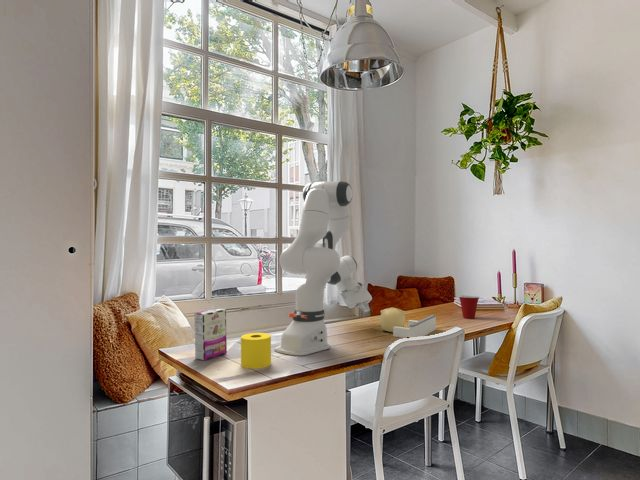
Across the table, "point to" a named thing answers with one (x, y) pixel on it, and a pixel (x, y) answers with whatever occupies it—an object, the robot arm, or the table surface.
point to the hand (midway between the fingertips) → (367, 311)
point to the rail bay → (416, 328)
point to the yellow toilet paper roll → (255, 350)
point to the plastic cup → (468, 306)
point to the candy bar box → (210, 334)
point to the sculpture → (392, 319)
